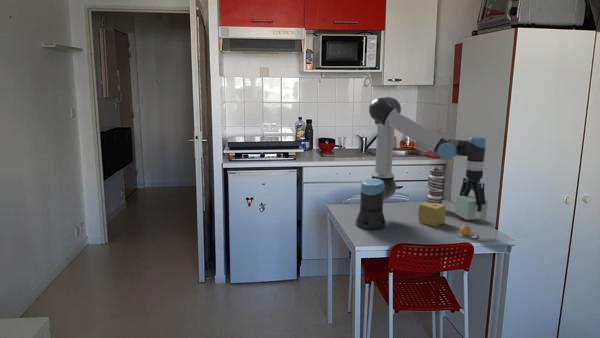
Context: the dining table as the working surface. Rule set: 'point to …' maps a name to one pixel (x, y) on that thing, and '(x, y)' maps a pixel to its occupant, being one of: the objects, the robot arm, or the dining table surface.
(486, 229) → the dining table surface
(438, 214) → the cheese
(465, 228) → the ball
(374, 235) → the dining table surface
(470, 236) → the disc
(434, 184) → the decorative candle
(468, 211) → the sage green cube
